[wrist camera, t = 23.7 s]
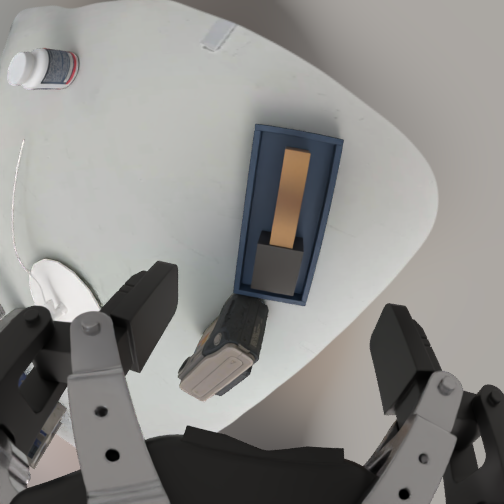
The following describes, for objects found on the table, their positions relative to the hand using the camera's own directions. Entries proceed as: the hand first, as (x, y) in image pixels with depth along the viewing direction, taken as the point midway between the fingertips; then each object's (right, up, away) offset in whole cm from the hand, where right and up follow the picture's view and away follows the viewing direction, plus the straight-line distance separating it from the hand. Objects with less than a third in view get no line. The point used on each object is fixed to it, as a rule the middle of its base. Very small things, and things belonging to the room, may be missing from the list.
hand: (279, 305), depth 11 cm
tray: (+2, +6, +19) cm, 20 cm away
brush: (+2, +5, +19) cm, 20 cm away
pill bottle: (-25, +25, +15) cm, 38 cm away
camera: (-3, -7, +26) cm, 27 cm away
